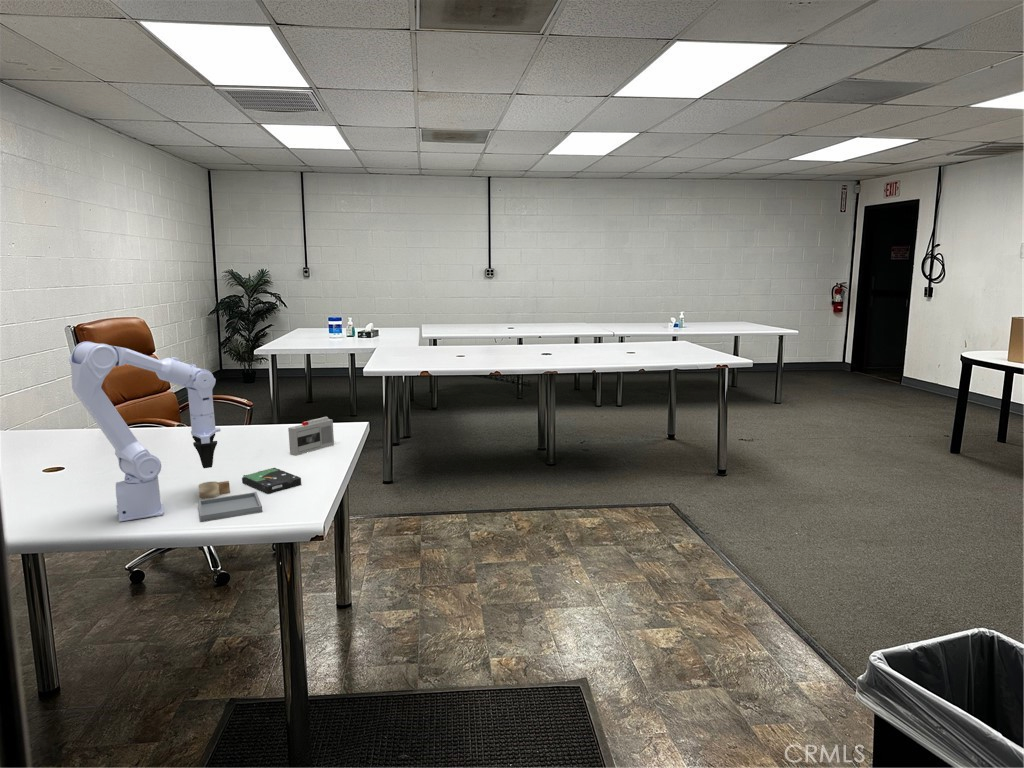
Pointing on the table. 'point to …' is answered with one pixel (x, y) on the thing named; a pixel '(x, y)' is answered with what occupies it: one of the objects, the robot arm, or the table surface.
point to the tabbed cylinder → (213, 489)
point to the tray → (229, 506)
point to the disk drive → (271, 480)
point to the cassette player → (311, 436)
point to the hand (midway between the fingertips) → (206, 463)
